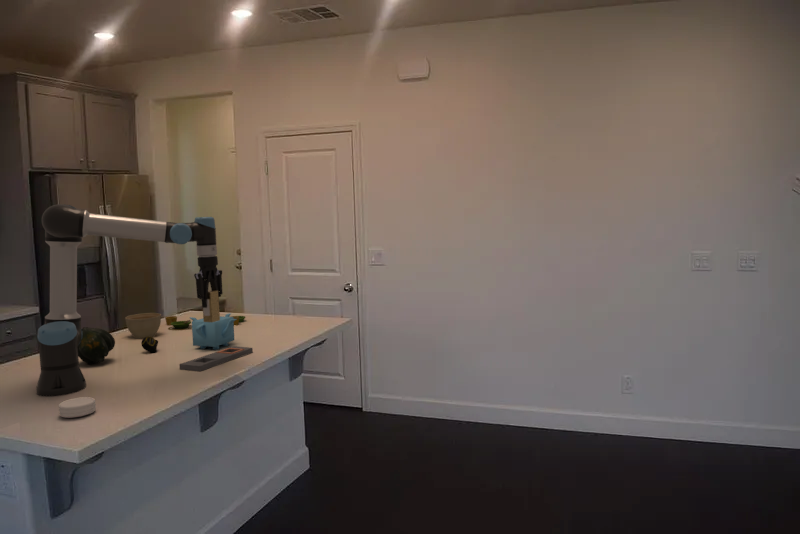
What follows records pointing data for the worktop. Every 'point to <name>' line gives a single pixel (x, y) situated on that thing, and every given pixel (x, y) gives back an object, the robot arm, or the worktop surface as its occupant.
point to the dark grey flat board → (215, 358)
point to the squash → (95, 345)
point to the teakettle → (213, 332)
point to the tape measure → (149, 344)
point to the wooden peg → (213, 307)
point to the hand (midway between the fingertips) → (211, 314)
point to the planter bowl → (143, 324)
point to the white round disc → (77, 407)
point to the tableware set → (184, 324)
